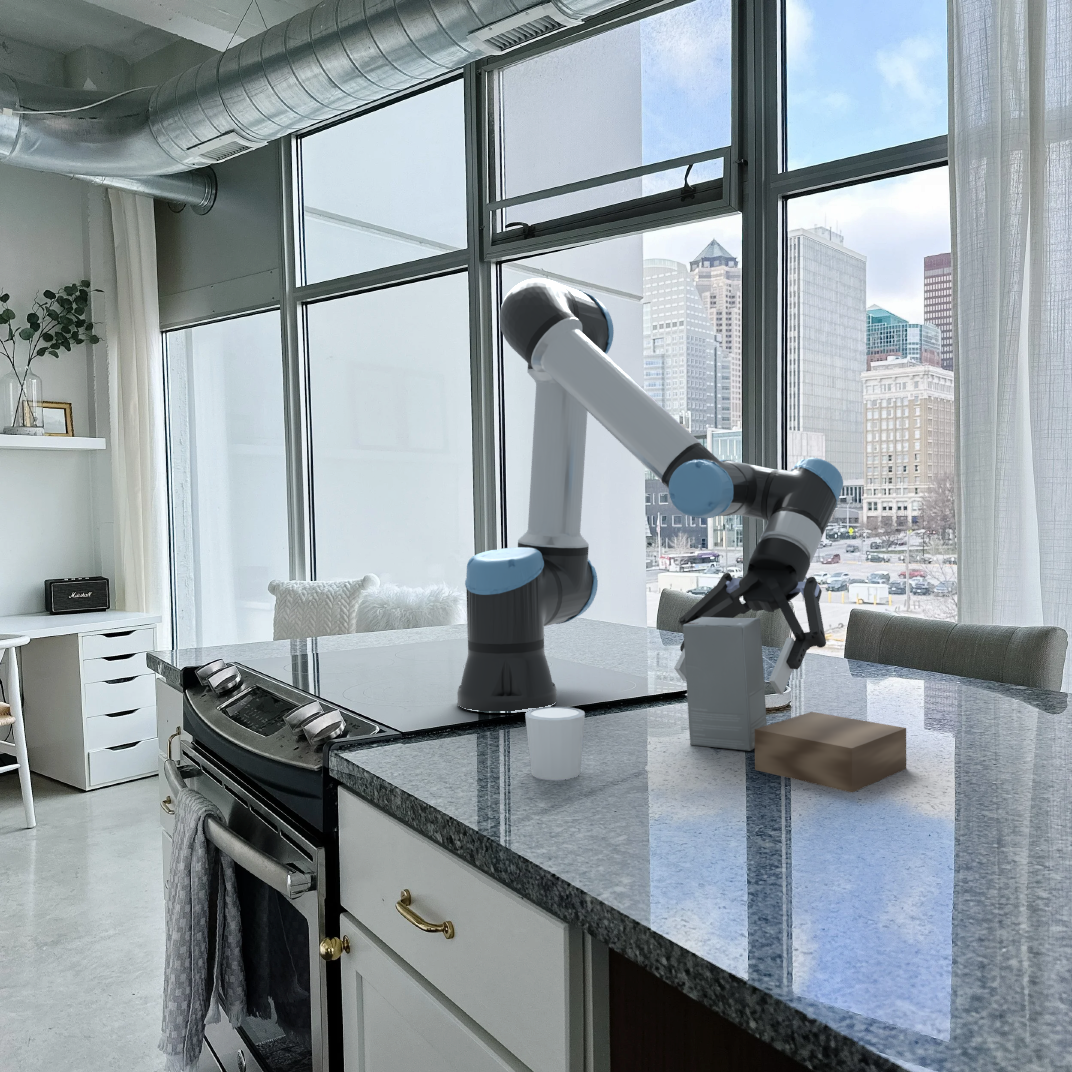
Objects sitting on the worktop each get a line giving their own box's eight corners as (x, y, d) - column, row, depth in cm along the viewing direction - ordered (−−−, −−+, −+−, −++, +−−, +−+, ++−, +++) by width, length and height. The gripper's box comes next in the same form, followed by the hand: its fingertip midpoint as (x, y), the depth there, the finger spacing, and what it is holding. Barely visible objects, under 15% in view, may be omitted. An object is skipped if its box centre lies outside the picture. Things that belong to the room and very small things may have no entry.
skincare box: (768, 741, 121) (766, 616, 120) (748, 754, 115) (747, 624, 114) (705, 733, 125) (703, 613, 124) (683, 746, 119) (681, 620, 118)
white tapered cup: (581, 783, 105) (580, 720, 104) (520, 780, 106) (518, 718, 106) (590, 765, 111) (589, 706, 111) (532, 763, 113) (531, 704, 112)
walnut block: (755, 772, 108) (754, 729, 108) (811, 752, 116) (811, 711, 116) (852, 795, 100) (851, 748, 99) (906, 771, 108) (906, 727, 107)
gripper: (882, 575, 122) (830, 712, 112) (715, 568, 139) (657, 686, 129) (864, 535, 118) (808, 674, 108) (695, 533, 135) (632, 653, 125)
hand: (726, 681), depth 119 cm, fingers open, 13 cm apart
